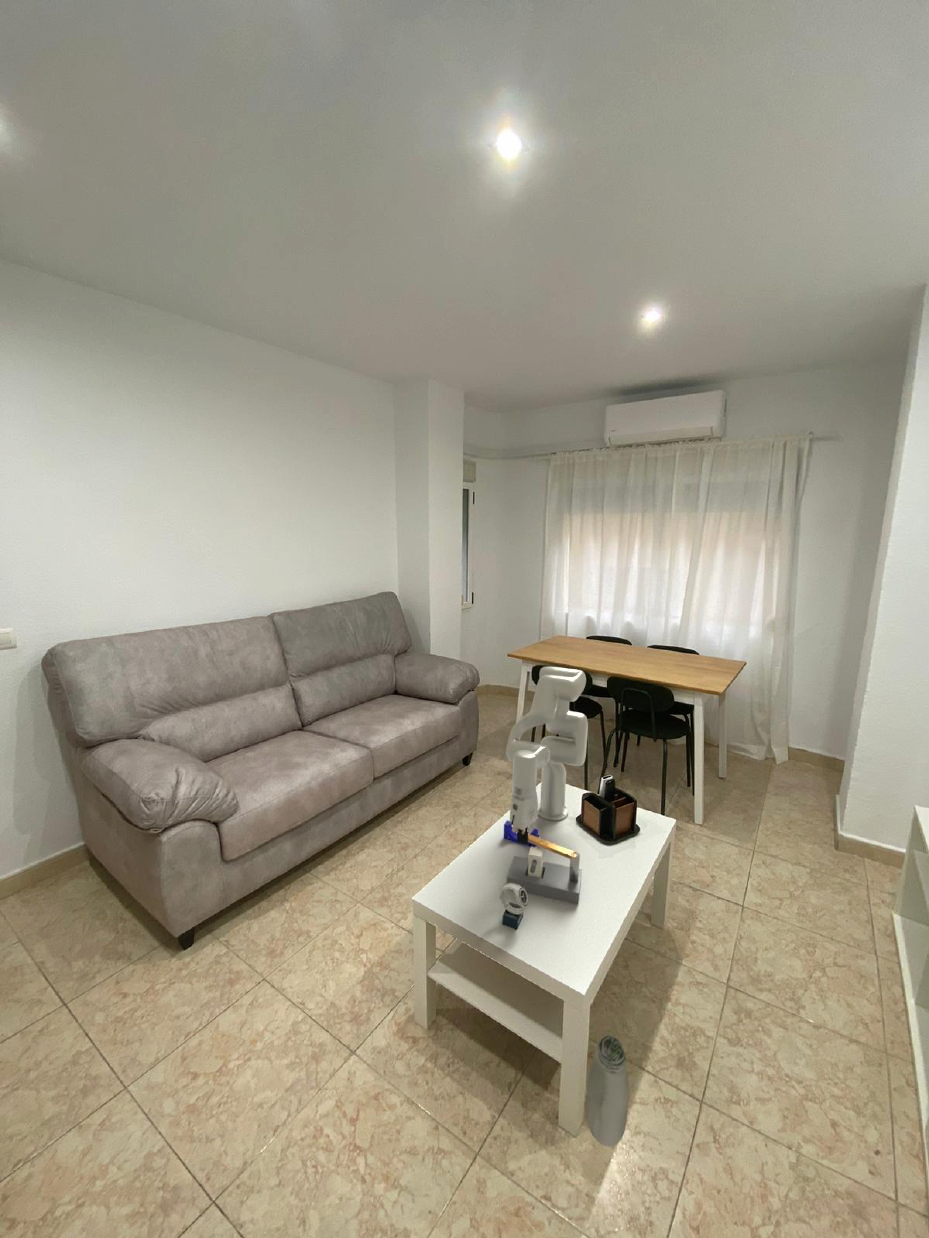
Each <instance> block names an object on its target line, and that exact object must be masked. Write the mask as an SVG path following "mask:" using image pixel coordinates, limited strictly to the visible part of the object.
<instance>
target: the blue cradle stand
mask: <svg viewBox="0 0 929 1238" xmlns="http://www.w3.org/2000/svg"><path fill="white" fill-rule="evenodd" d="M512 827H513V825H511V824H510V820H506V821H505V822H504V824H503V840H505V841H511V842H513V843H517V844H520V845H523V844H521V843H519V842H517V832H516V833H515V832H513V831H512ZM529 834H530V835H533V836H535V837H538V838H540V834H539V828H533V830H532V831H531V833H529ZM523 846H525V847H530V848H531V847H536V848H537V847H538V846H537V845H534V844H532V843H529V842H528V843H527V844H526V845H523Z"/></svg>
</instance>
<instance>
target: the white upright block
mask: <svg viewBox="0 0 929 1238" xmlns="http://www.w3.org/2000/svg"><path fill="white" fill-rule="evenodd" d="M543 862H544V848H542V847H537V846H536V847H532V846H531V847H530V848H529V851H528V876H531V877H535V878H540V879H542V871H543Z"/></svg>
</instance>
